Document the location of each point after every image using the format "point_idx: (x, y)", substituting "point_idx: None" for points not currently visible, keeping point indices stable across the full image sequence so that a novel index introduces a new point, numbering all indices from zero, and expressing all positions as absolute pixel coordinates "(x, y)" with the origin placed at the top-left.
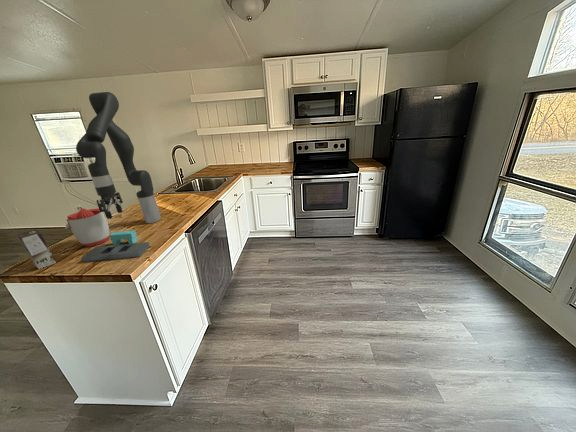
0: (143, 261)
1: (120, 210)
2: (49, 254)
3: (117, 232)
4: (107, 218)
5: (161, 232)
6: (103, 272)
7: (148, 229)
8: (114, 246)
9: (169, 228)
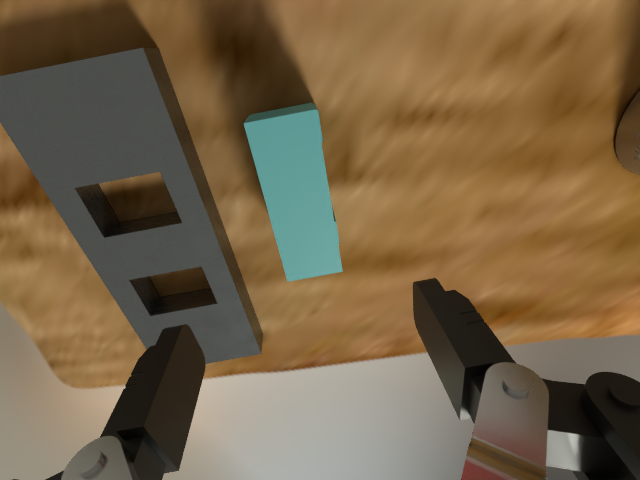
0: None
1: (426, 337)
2: None
3: (306, 157)
4: (164, 331)
5: None
6: (9, 298)
7: (491, 190)
8: (184, 208)
9: None
